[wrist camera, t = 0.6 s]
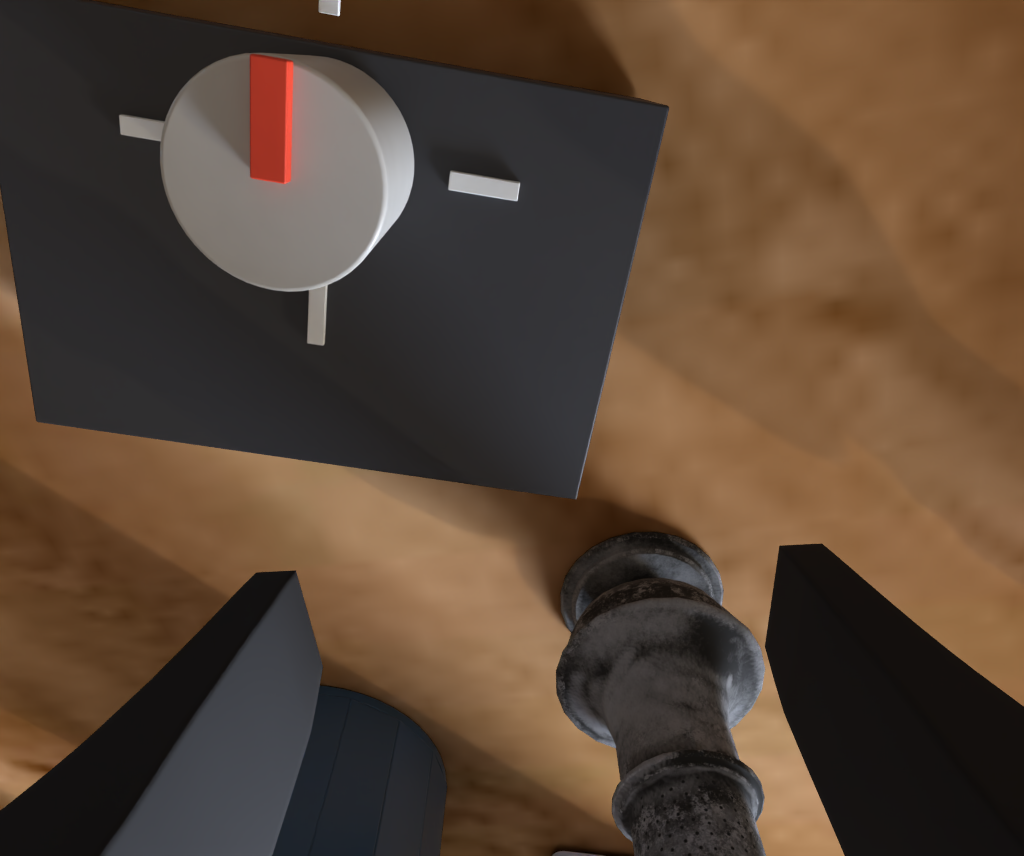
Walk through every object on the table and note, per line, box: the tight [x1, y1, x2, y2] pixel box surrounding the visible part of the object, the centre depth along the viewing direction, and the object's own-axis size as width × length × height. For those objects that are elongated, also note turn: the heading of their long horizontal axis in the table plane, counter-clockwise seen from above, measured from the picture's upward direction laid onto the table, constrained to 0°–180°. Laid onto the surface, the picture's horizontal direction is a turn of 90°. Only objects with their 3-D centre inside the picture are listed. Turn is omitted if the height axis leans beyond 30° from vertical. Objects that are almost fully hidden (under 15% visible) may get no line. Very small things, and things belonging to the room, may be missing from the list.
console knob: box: [160, 53, 414, 292], centre depth 13 cm, size 4×4×4 cm
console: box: [0, 0, 669, 499], centre depth 16 cm, size 11×13×4 cm
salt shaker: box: [556, 532, 766, 856], centre depth 18 cm, size 6×6×12 cm
